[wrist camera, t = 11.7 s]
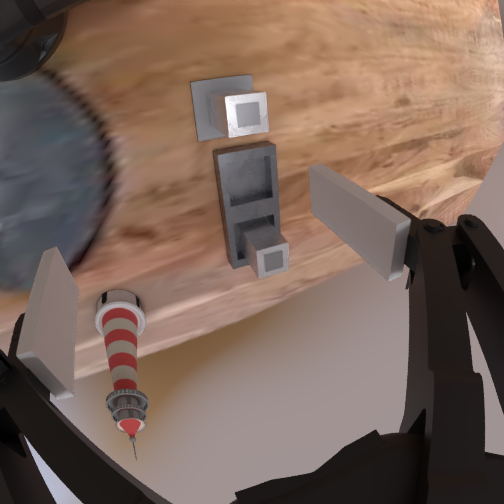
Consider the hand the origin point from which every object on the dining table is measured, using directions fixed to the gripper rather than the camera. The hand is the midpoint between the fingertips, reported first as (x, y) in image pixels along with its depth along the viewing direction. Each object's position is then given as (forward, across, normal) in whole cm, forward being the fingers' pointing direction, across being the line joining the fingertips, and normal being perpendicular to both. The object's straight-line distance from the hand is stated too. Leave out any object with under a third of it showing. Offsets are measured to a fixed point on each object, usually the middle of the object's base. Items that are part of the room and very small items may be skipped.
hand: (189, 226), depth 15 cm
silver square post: (+32, +12, -22) cm, 41 cm away
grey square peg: (+33, +11, 0) cm, 34 cm away
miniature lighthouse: (+33, -15, -29) cm, 46 cm away
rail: (+33, +12, -17) cm, 39 cm away
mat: (+33, +11, 0) cm, 35 cm away
